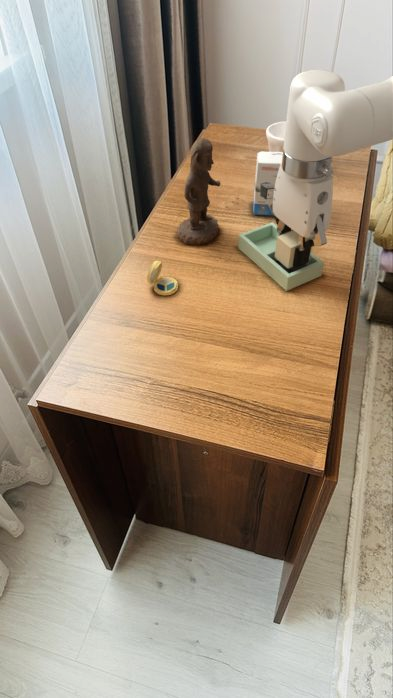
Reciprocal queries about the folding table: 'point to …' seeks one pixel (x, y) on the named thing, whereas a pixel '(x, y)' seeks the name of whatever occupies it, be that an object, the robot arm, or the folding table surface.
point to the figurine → (199, 197)
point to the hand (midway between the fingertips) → (292, 257)
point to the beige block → (287, 248)
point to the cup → (276, 136)
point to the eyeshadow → (161, 280)
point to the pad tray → (262, 252)
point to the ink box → (265, 181)
